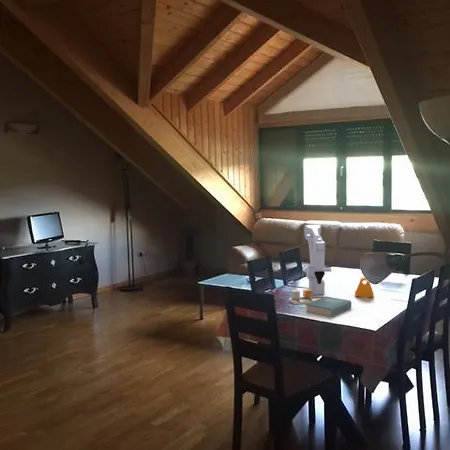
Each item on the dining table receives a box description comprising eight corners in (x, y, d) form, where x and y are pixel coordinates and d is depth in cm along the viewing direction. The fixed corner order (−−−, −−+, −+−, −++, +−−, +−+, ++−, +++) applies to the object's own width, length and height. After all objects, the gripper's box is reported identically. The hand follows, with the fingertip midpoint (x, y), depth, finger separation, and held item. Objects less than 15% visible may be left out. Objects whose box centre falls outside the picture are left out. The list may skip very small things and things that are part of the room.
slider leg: (309, 296, 333) (309, 289, 332) (313, 299, 326) (313, 291, 325) (303, 297, 332) (303, 289, 331) (307, 300, 325) (307, 292, 324)
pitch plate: (323, 298, 335) (323, 288, 335) (329, 302, 327) (329, 291, 326) (289, 300, 330) (289, 290, 330) (294, 304, 322) (294, 293, 321)
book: (326, 304, 322) (326, 296, 322) (351, 309, 312) (351, 300, 312) (305, 312, 305) (306, 303, 304) (331, 317, 295) (332, 308, 294)
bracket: (372, 295, 344) (373, 276, 343) (373, 298, 337) (374, 278, 335) (354, 294, 346) (355, 275, 345) (355, 297, 339) (355, 278, 337)
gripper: (310, 263, 326) (310, 285, 328) (333, 262, 330) (333, 284, 331) (306, 261, 333) (306, 283, 334) (328, 260, 336) (328, 282, 338)
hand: (319, 283), depth 333 cm, fingers closed
